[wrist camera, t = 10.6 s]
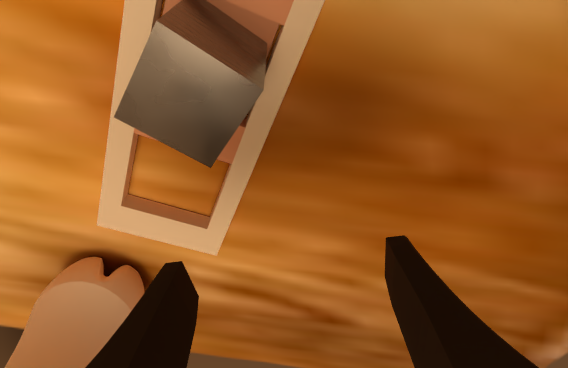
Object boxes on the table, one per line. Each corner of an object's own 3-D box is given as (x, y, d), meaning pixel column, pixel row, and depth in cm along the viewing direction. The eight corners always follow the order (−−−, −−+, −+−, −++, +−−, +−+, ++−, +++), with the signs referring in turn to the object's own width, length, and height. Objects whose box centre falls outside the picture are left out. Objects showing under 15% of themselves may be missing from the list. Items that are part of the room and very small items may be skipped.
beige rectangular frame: (436, -279, 12) (450, -297, 11) (218, 243, 26) (216, 255, 25) (195, -454, 10) (186, -496, 9) (104, 213, 24) (96, 225, 23)
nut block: (267, 43, 17) (263, 89, 12) (227, 106, 19) (210, 167, 14) (192, -10, 16) (156, 20, 11) (157, 64, 18) (113, 117, 13)
